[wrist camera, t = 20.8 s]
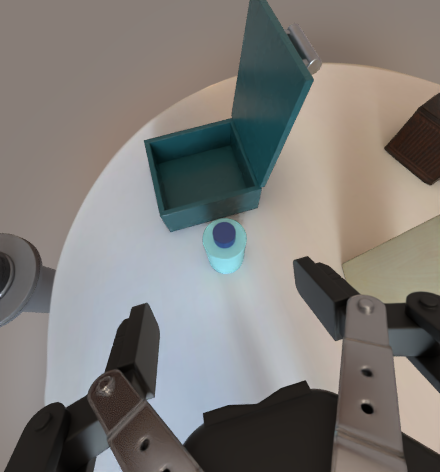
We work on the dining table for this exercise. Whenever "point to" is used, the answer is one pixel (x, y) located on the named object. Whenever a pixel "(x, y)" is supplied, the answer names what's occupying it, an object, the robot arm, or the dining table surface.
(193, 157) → the teal open box
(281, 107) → the teal box lid
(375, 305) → the robot arm
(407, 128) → the manual coffee grinder
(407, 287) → the toy refrigerator
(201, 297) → the dining table surface
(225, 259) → the water bottle
